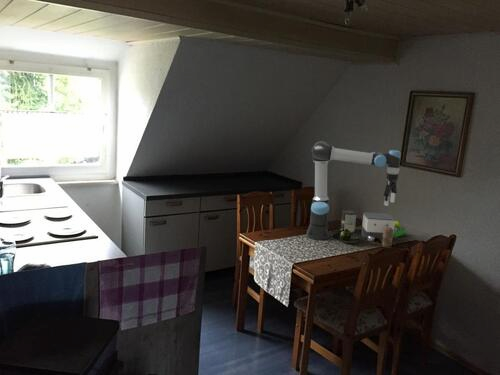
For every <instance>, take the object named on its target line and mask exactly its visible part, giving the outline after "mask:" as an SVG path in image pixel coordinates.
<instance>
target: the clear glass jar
mask: <svg viewBox="0 0 500 375" xmlns="http://www.w3.org/2000/svg"><path fill="white" fill-rule="evenodd" d="M356 219H357V211H355V210H351V209H343V210H342V212H341V224H340V231H342V230H345V229H348V230H349V231H350V232H349V233H354V232H355V230H356V221H357V220H356Z"/></svg>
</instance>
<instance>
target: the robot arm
mask: <svg viewBox="0 0 500 375" xmlns="http://www.w3.org/2000/svg"><path fill="white" fill-rule="evenodd" d="M311 154H312V162H313V163H314V196H313V198H312V204H311V205H310V206H311V207H310V221H309V226H308V228H307V230H306V237H307V238H309V239H312V240H316V241H317V240H319V241H321V240H322V241H323V240H327V239H329V238H330V235H329V231H328V220H329V218H328V216H329V212H330V198H329V197H328V163H329V162H330V161H333V160H335V161H343V162H348V163H349V162H350V163H356V164H363V165H369V166H376V167H378V168H381V167H384V166H386V165H387V168H386V169H387V171H386V172H387V173H386V180H388V181H386V185H385V188H384V193H383V196H384V201H383V206H386V207H388V206H389V203H392V204H393V203H395V201H396V200H395V199H396V194H397V193H398V191H397V181H398V180H399V174H400V173H399V172H400V171H401V169H400V165H401V164H400V163H401V156H402V155H401V154H402V152H401V151H400V150H396V149H395V150H393V149H391V150H389V151H388V152H378V151H375V152H374V151H373V152H366V151H358V150H352V149H351V150H350V149H345V148H339V147H338V148H336V147H334V146H333V145H330V144H329V143H328V142H326V141H323V140H320V141H317V142H315V143H314V145H313V146H312V148H311ZM389 201H390V202H389Z"/></svg>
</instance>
